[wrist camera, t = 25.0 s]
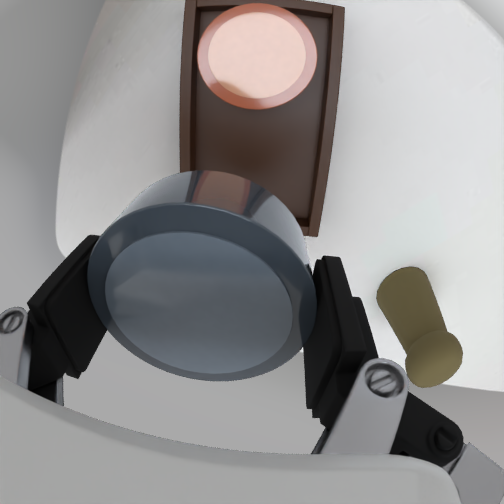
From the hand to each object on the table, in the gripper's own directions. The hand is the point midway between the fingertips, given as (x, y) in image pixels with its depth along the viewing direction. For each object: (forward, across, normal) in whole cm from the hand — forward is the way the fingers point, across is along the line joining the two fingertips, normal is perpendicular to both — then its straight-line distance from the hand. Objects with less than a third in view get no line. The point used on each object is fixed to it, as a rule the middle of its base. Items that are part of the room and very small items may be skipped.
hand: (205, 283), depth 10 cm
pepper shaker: (+14, -17, +10) cm, 24 cm away
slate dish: (+2, 0, 0) cm, 2 cm away
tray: (+14, -1, -4) cm, 15 cm away
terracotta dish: (+14, -1, -8) cm, 16 cm away
